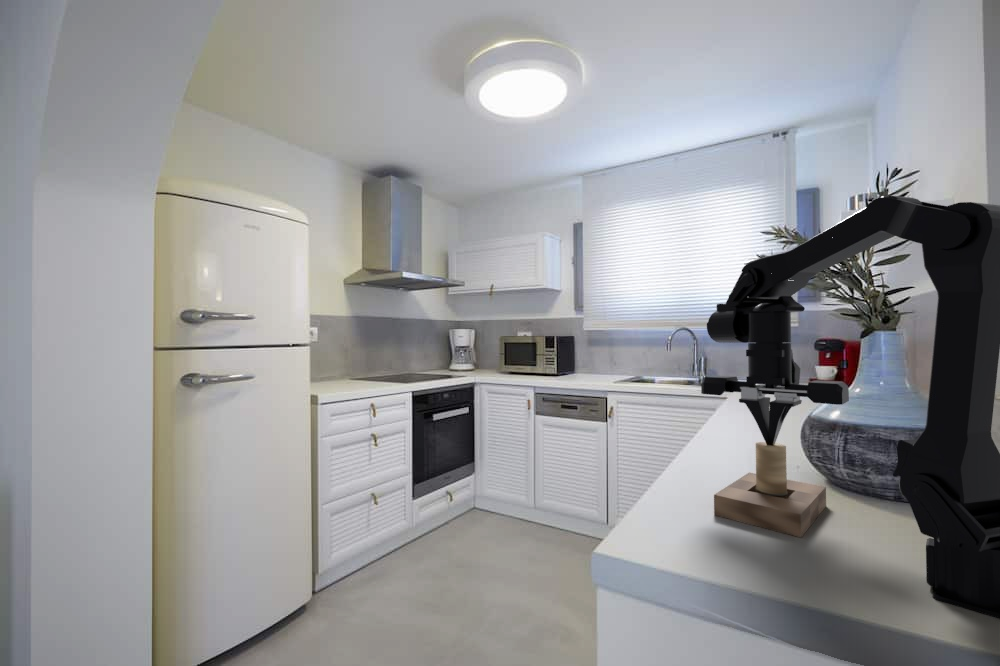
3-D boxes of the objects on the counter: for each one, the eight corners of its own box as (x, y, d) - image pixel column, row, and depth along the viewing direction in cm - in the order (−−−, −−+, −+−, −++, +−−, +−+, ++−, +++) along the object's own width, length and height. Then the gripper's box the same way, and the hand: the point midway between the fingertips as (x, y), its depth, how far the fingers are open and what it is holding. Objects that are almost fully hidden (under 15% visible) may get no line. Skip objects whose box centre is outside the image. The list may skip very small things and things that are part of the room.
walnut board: (826, 506, 71) (825, 486, 71) (800, 537, 60) (800, 514, 60) (749, 489, 79) (749, 472, 79) (714, 514, 68) (713, 494, 68)
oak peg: (791, 510, 69) (790, 444, 69) (783, 518, 66) (782, 449, 66) (760, 503, 72) (759, 440, 72) (752, 510, 69) (751, 445, 69)
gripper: (854, 342, 69) (856, 446, 68) (724, 342, 82) (725, 429, 82) (840, 343, 61) (842, 460, 61) (699, 343, 74) (700, 439, 74)
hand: (770, 445), depth 69 cm, fingers closed, pressing on oak peg
